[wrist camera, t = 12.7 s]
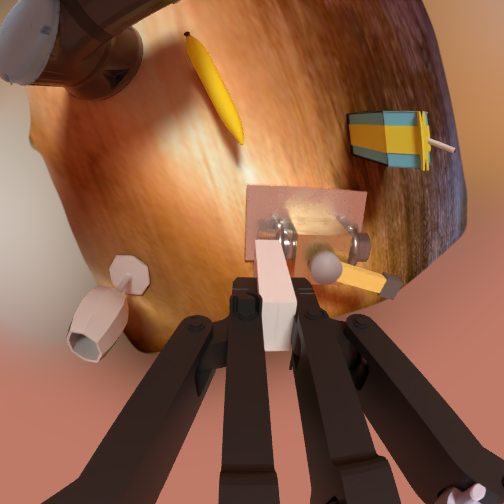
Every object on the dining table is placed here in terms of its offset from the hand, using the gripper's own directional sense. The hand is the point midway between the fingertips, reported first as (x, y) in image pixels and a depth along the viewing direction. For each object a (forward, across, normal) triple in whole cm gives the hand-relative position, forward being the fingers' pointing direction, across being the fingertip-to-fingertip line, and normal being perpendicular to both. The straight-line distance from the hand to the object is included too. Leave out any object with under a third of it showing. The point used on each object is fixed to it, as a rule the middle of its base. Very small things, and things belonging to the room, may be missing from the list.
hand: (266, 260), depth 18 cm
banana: (+30, -6, +14) cm, 33 cm away
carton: (+30, +19, +9) cm, 36 cm away
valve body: (+29, +9, -7) cm, 32 cm away
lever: (+19, +15, -12) cm, 27 cm away
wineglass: (+30, -23, -18) cm, 42 cm away
